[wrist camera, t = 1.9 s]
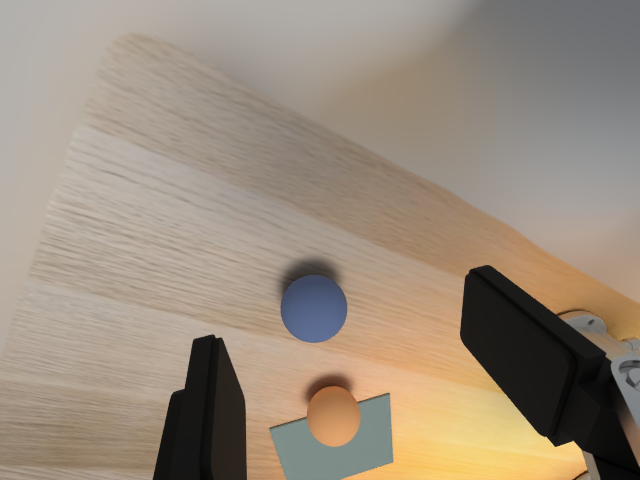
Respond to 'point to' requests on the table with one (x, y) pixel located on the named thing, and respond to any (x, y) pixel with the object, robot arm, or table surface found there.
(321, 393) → the orange ball
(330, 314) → the blue ball
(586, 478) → the toy
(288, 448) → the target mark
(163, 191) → the table surface
